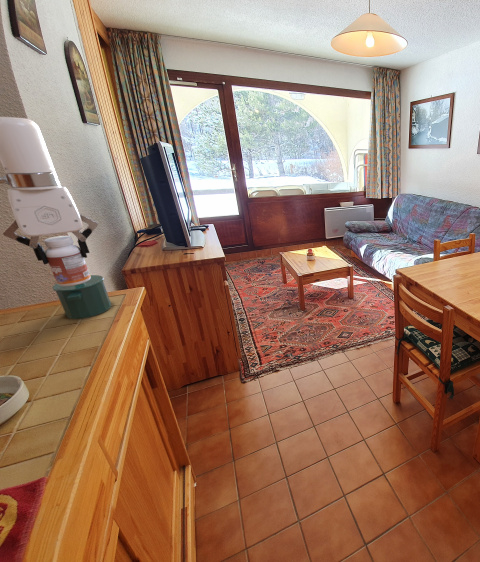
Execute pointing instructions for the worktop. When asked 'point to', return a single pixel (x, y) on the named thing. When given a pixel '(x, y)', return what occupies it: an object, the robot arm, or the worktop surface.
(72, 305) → the pot
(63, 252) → the pill bottle
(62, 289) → the pot lid
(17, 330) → the worktop surface
